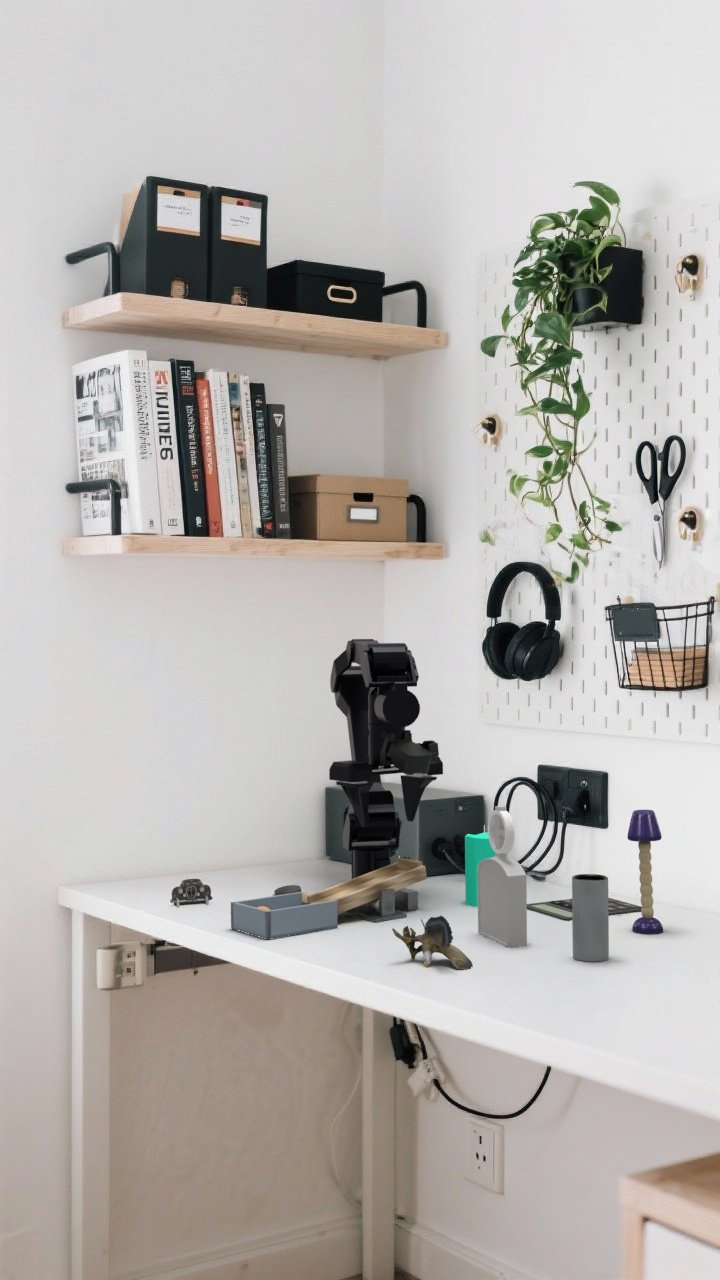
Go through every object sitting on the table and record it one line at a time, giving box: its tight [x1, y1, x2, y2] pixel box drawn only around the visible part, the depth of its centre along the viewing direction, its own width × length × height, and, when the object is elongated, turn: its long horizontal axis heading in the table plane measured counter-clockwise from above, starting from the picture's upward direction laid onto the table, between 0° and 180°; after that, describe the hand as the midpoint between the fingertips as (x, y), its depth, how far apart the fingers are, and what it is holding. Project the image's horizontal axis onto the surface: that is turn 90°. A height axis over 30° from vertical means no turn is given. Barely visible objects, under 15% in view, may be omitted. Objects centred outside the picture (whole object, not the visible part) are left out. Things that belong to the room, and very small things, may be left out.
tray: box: [230, 891, 338, 940], centre depth 194 cm, size 9×12×4 cm
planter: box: [571, 873, 610, 963], centre depth 175 cm, size 4×4×10 cm
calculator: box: [527, 897, 642, 922], centre depth 206 cm, size 12×1×15 cm
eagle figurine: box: [391, 915, 474, 971], centre depth 172 cm, size 8×7×9 cm
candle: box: [464, 824, 496, 907], centre depth 212 cm, size 6×6×12 cm
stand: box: [339, 887, 419, 923], centre depth 205 cm, size 11×10×4 cm
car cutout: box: [169, 878, 213, 908], centre depth 214 cm, size 15×7×4 cm, turn 110°
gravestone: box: [477, 805, 528, 948], centre depth 186 cm, size 3×9×18 cm, turn 20°
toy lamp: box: [627, 809, 664, 935], centre depth 191 cm, size 5×5×17 cm
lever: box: [271, 857, 428, 915], centre depth 207 cm, size 18×15×3 cm
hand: (387, 823), depth 214 cm, fingers open, 9 cm apart
